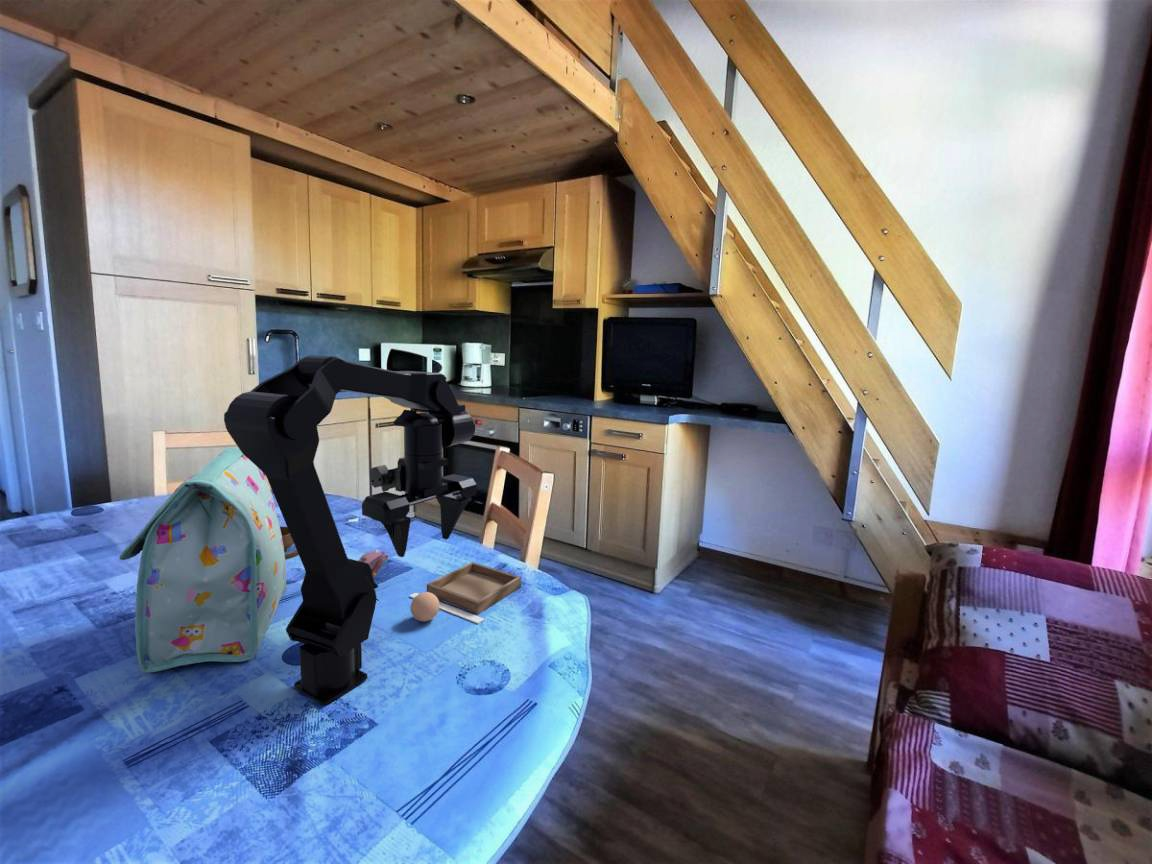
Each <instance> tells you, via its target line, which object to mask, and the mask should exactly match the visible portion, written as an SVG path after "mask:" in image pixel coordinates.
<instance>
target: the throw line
mask: <svg viewBox="0 0 1152 864" xmlns="http://www.w3.org/2000/svg"><path fill="white" fill-rule="evenodd" d="M418 594H419V593H418V592H414V593H412V594H410V595H409V596H408V597H409V598H411V599H412V600H413V599H414V598H415V597H416V596H417V595H418ZM439 610H441V611H445V612H446V613H450V614H452V615H454V616H457V617H459V618H462V619H465V620H468V621H469V622H472V623H474V624H477V625H479V624H481V623H483V622H484V621H485V618H483V617H482V616H478V615H477V614H474V613H471V612H469V611H468V612H467V611H466V610H464V609H460V608H458V607H456V606H455V607H454V606H452V605H451V604H450V605H449V604H448V603H444V602H443V601H442V602H441V601H439Z"/></svg>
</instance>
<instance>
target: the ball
mask: <svg viewBox="0 0 1152 864" xmlns="http://www.w3.org/2000/svg"><path fill="white" fill-rule="evenodd" d="M439 602H440V600H439V599H438V598H437V597H436V596H435V595H434V594H432V593H430V592H427V591H424V592H420V593H418V595H417V596H416V597H415V598H414V599H413V598H412V601H411V603H410V613H411V615H412V617H413V618H414V619H416V620H417V621H420V622H428V621H431V620H432V619H434V618H435V617H436V616H437V614H438V613H439V610H440V609H439Z"/></svg>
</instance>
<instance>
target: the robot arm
mask: <svg viewBox="0 0 1152 864" xmlns="http://www.w3.org/2000/svg"><path fill="white" fill-rule="evenodd" d="M341 391H342V392H347V393H355V394H361V395H367V396H368V395H369V396H375V397H381V398H382V397H383V398H384V399H387V400H388V401H389V402H391V403H393V404H395V405H397V406H399V407H402V408H406V409H403V411H402V412H401V414H399V416H397V417H396V418H395V419H394V421H393V425H394V426H395V427H402V428H403V444H404V445H403V454H404V456H403V457H399V458H398V460H397V467H395V468H392V469H389V468H388V467H387V465H386V464H383V465H379V466H374V467H371V468H370V477H369V478H370V482H371V486H372V487H373V488H380V487H381V491H382V492H377V493H375V494H371V495H367V496H365V498H364V499H363V500H362V502H361V515H362V516H364V517H367V518H371V520H374V521H377V522H380V524H381V525H382V526H383V527H384V528H385V530H386V532H387V534H388V536H389V539H390V541H391V543H392V547H393V548H394V550H395V552H396V555H397V556H398V557H400V558H404V557H405V555H406V552H407V547H408V540H409V535H410V526H411V520H412V517H409V516H408V514H409V513H410V510H411V509H410V507H411V506H414V505H417V504H421V503H424V502H427V501H430V500H433V499H436V501H437V502H438V504H439V508H440V530H441V536H442V539H444V540H448V539H450V536H451V534H452V533H453V531H454V529H455V526H456V524H457V522H458V520H459V519H460V517H461V515H462V513H463V512H464V510H465V508H466V507H467V504H468V503H469V502H471V501H472V497H473V496H476V495H477V486H478V485H477V483H476V481H475V480H474V478H473V477H470V476H465V475H459V474H455V473H453V474H449V475H445V476H443V467H445V466H448V465H449V458H446V457H443V448H449V447H452V446H454V445H460V444H462V443H467V442H468V441H470V440H471V439H472V438H473V437H474V435H475V433H476V424H475V422H474V421H475V420H474V419H473V417H472V416H471V415H470V413H469V412H467V411H466V404H464V403H461V404H460V403H458V400H457V399H456V396H455V394H454V393H453V390H452V388H451V385H450V383H448V381H447V377H446V375H445V374H443V373H441V372H431V371H430V372H429V371H416V370H415V371H414V370H399V371H397V370H395V371H394V370H389V369H384V368H380V367H375V366H371V365H367V364H362V363H357V362H353V361H347V360H343V359H341V358H340V357H338V356H334V355H332V356H331V355H314V354H311V355H310V354H309V355H306V356H304V357H302V358H301V359H299V360H298V361H296V362H295V363H294V364H293V365H292V366H290V367H289V368H287V369H285V370H284V371H281V372H280V373H278V374H275V375H274V376H272V377H269V378H267V379H266V380H264V381H261V382H260V383H259V384H258V385H256V386H255V387H254V388H252V390H250V391H246V392H242V393H240V394H238V395H237V396H235V398H233V400H232V401H231V402H230V403H229V405H228V408H227V410H226V411H225V412H224V414H223V421H224V427H225V429H226V431H227V432H228V434H229V436H230V437H231V439H232V440H233V442H234V443H235V445H236V446H237V447H238V449H240V450H241V452H242V453H243V454H244V455H245V456H246V457H247V458H248V459H249V460H250V461H251V462H253V463H254V464H255V465H256V466H257V467H258V468H259V469H260V470H261V472H262V474H263V475H264V476H265V478H266V480H267V482H268V485H269V487H270V490H271V492H272V495H273V496H274V499H275V500H276V503H277V505H278V509H279V510H280V512H281V516H282V517H283V521H284V523H285V525H286V527H288V530H289V532H290V535H291V537H292V540H293V542H294V543H293V545H294V546H295V547H294V548H295V549H296V551H297V552H298V554H299V555H298V556H299V559H300V561H301V564H302V566H303V568H304V572H305V574H304V576H303V580H302V584H301V586H300V592H301V599H302V602H301V603H300V605H299V607H298V608H297V610H296V611H295V613H294V615H293V616H292V618H291V620H290V621H289V623H288V624H287V626H286V628H285V632H286V634H287V636H288V637H289V640H290V641H292V642H297V643H300V644H302V645H300V646H299V650H298V651H299V662H300V663H299V666H300V679H299V680H297V681H295V682H294V683H293V688H294V689H295V690H297V691H299V692H300V693H302V694H303V695H305V696H306V697H308V698H309V699H312V700H313V701H314V702H316V703H317V704H319V705H320V706H326V705H327V704H330V703H331V702H334V700H336V699H338V698H339V697H341V696H342V695H344V694H346V693H348V692H349V691H350V690H353V689H354V688H356V686H358V685H360V684H362V683H363V682H365V681H366V680H367V679H368V673H366V672H364V671H362V670H361V669H362V668H363V660H362V658H363V654H362V653H363V652H362V651H363V650H362V643H363V642H365V641H367V640H368V638H369V636H370V631H371V627H372V623H373V619H374V614H375V610H376V609H375V608H376V604H377V593H376V590H375V589H377V588H378V587H379V585H378V584H377V583H376V582H375V580H374V577H373V576H372V570H371V568H370V566H369V564H368V563H365V562H361V561H358V560H356V559H351V558H349V557H348V555H347V552H346V549H345V546H344V543H343V542H342V539H341V536H340V534H339V530H338V528H337V527H338V526H337V525H336V521H335V519H334V517H333V513H332V510H331V509H330V505H329V503H328V500H327V497H326V494H325V491H324V488H323V486H322V483H321V480H320V477H319V475H318V471H317V470H316V466H315V462H314V461H315V458H316V455H317V450H318V447H319V445H320V436H319V431H318V430H319V429H318V426H319V424H321V423H322V422H323V421H324V419H325V418H327V417H328V415H329V414H330V413H332V410H333V406H334V403H335V400H336V396H337V395H338V393H339V392H341ZM391 489H395V491H397V492H404V493H403V494H400V495H399V494H396V493H392V492H388V491H389V490H391Z"/></svg>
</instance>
